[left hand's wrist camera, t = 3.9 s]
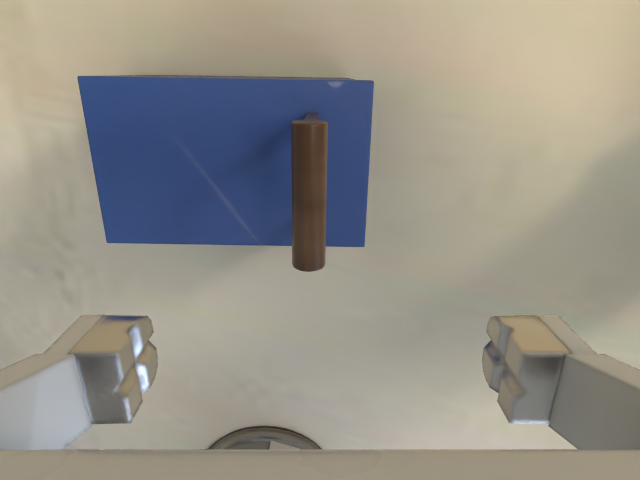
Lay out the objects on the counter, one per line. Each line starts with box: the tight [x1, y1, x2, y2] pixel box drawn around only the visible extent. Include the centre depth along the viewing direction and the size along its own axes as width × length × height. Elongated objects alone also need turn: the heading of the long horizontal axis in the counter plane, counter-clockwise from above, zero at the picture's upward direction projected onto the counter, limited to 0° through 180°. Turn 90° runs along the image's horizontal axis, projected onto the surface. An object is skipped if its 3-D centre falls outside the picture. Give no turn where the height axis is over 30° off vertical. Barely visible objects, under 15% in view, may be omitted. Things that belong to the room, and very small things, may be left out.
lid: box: [78, 76, 374, 271], centre depth 22 cm, size 16×10×8 cm, turn 89°
